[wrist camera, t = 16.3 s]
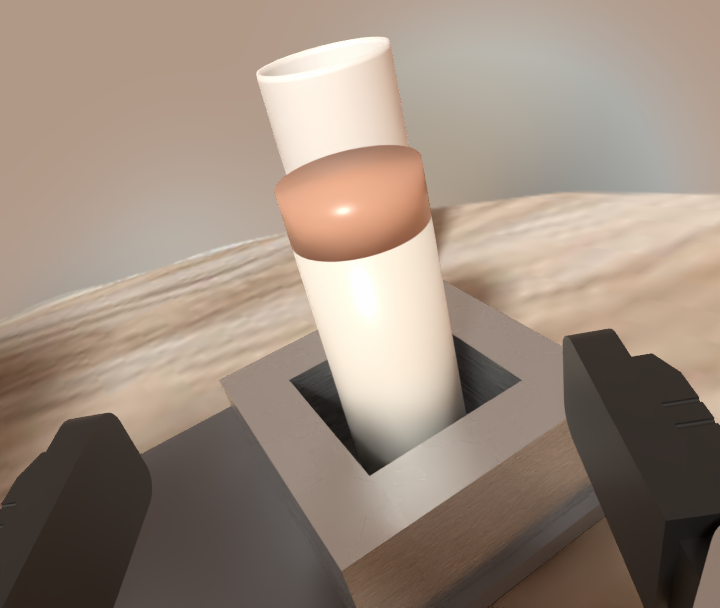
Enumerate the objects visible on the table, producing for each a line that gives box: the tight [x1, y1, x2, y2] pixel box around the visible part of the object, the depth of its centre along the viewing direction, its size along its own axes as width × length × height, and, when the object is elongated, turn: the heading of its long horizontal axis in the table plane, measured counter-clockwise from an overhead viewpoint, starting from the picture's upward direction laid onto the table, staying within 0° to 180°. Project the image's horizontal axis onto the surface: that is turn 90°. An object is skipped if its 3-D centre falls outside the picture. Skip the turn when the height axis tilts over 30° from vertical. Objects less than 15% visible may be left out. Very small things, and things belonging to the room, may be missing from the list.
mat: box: [114, 407, 605, 608], centre depth 26 cm, size 17×28×1 cm, turn 120°
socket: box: [220, 280, 595, 608], centre depth 25 cm, size 12×12×5 cm
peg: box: [274, 145, 466, 476], centre depth 23 cm, size 5×5×14 cm
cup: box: [256, 37, 409, 175], centre depth 39 cm, size 8×8×16 cm
